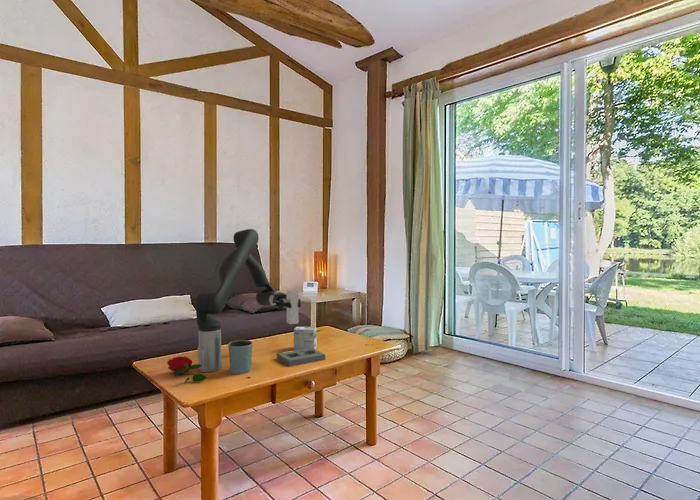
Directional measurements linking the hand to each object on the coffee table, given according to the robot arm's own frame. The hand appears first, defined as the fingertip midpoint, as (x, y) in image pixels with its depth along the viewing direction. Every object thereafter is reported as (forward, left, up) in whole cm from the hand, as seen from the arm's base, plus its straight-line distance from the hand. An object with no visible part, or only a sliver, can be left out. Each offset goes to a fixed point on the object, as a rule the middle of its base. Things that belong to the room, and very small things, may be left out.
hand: (295, 305), depth 193 cm
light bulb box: (+14, +18, -26) cm, 34 cm away
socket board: (+4, +3, -26) cm, 26 cm away
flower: (-46, +3, -26) cm, 53 cm away
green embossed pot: (-25, +2, -26) cm, 36 cm away
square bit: (0, +3, -8) cm, 9 cm away
